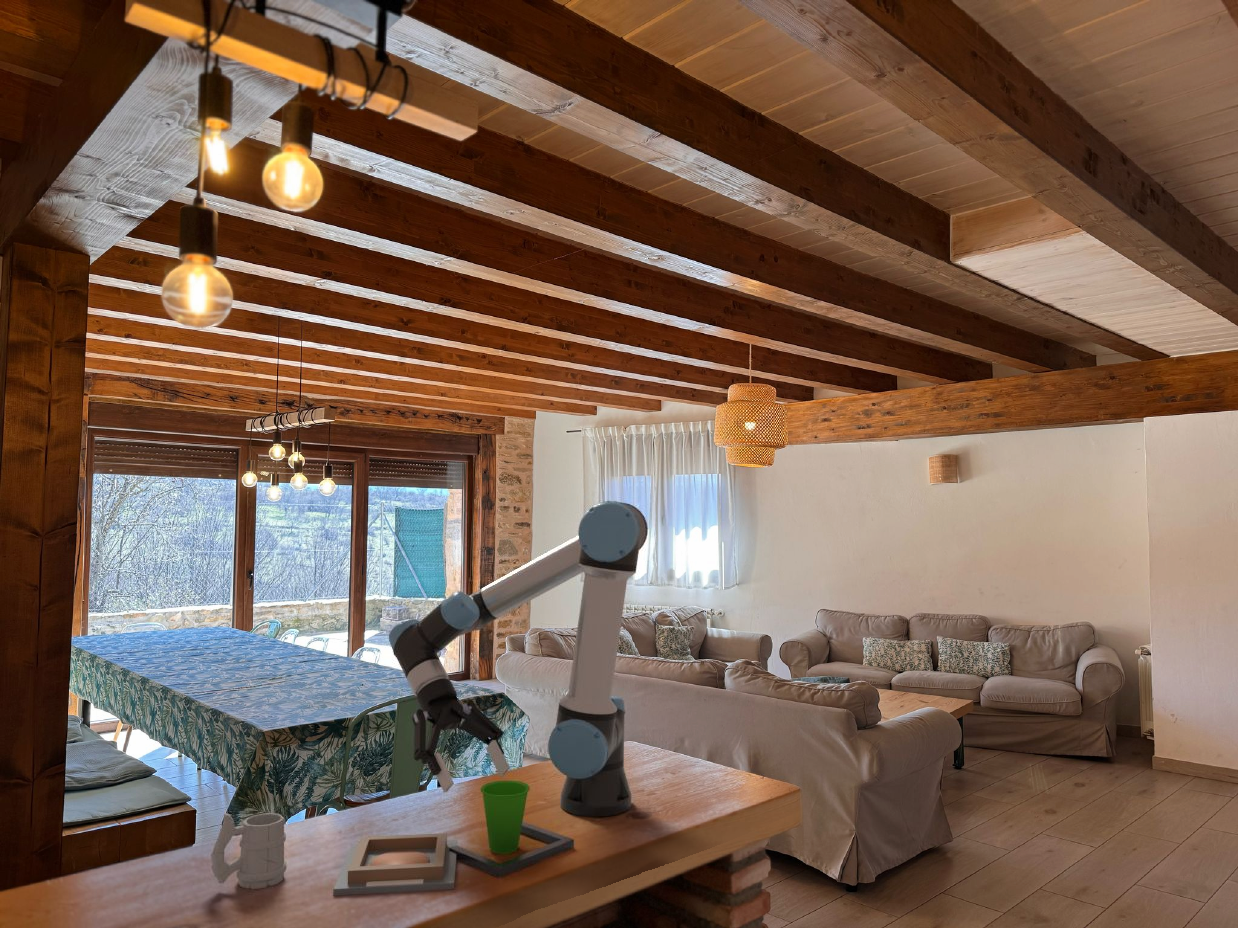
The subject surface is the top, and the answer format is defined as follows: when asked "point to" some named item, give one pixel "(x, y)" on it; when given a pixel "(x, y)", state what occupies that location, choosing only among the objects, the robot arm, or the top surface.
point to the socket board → (400, 888)
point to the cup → (504, 813)
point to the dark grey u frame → (501, 869)
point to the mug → (252, 851)
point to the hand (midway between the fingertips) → (478, 779)
